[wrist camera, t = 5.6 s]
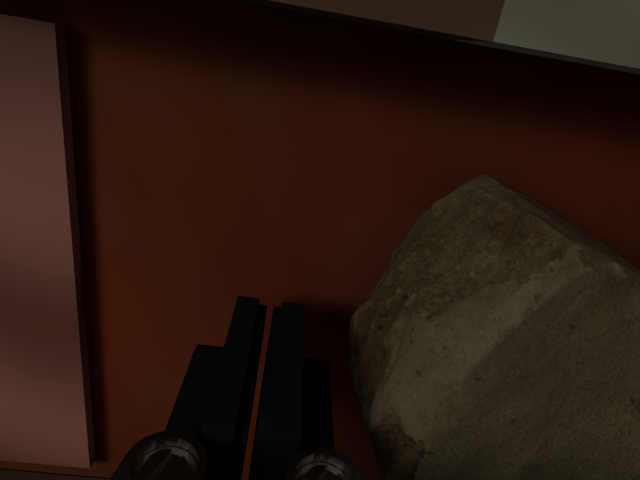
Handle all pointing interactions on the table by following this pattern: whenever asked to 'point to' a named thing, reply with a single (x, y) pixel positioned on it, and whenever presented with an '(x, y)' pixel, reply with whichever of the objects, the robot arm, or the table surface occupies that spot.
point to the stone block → (500, 347)
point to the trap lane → (61, 196)
